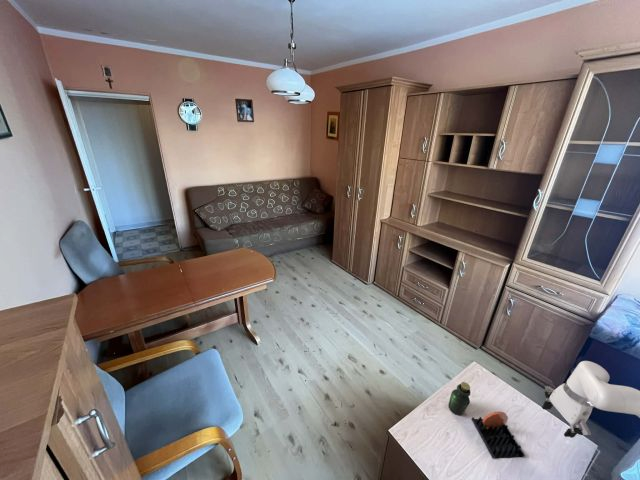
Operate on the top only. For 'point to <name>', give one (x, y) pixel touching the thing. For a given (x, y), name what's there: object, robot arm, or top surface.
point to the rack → (498, 440)
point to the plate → (495, 419)
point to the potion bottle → (460, 399)
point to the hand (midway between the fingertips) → (556, 421)
